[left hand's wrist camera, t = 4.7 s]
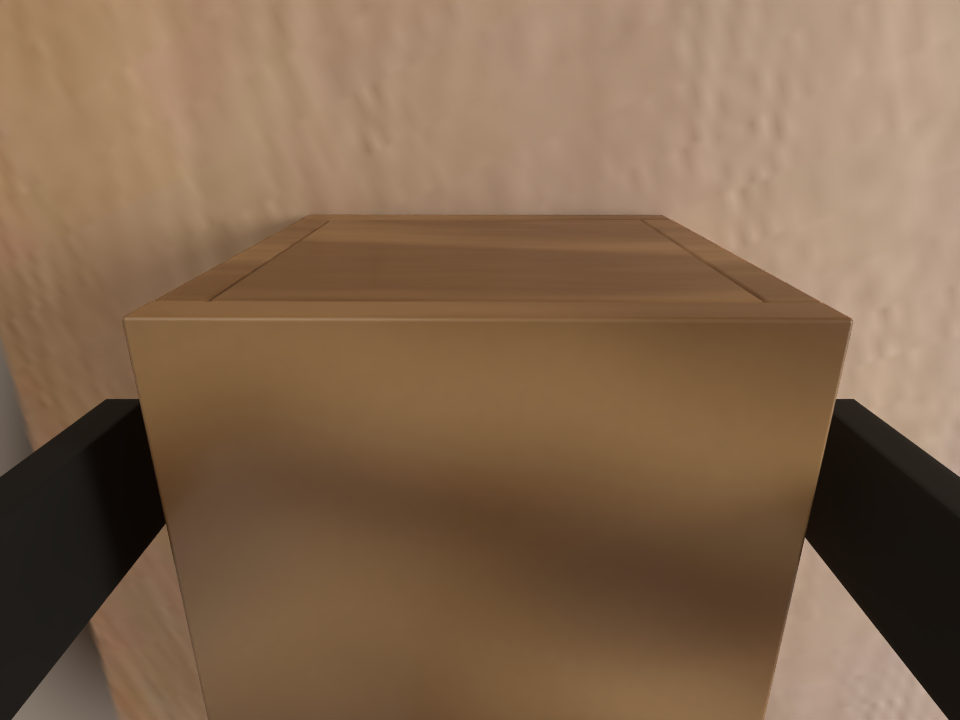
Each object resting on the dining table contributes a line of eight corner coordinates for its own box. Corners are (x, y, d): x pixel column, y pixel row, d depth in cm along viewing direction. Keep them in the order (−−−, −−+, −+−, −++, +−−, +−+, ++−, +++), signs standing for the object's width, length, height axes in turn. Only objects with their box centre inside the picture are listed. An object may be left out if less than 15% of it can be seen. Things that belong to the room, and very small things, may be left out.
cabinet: (613, 701, 25) (690, 1050, 16) (355, 699, 25) (277, 1046, 16) (664, 214, 18) (856, 319, 9) (307, 214, 18) (119, 316, 9)
